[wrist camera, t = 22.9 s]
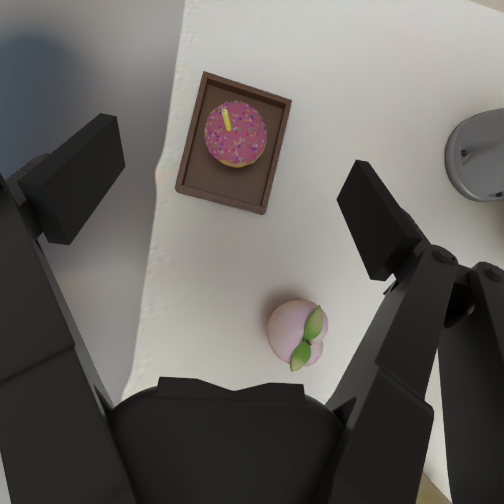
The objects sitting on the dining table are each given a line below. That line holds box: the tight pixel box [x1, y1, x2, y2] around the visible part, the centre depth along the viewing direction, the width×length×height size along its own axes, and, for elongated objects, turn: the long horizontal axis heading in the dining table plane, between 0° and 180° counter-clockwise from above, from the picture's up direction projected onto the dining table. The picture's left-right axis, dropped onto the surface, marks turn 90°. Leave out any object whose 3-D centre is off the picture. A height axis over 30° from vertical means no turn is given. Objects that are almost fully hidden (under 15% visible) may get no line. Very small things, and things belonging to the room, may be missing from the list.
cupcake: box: [204, 101, 267, 168], centre depth 33 cm, size 9×8×12 cm
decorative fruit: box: [267, 300, 328, 371], centre depth 37 cm, size 9×8×10 cm
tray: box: [175, 71, 292, 215], centre depth 39 cm, size 18×14×2 cm
